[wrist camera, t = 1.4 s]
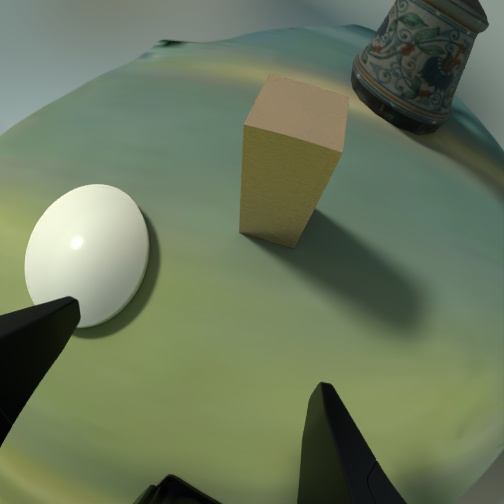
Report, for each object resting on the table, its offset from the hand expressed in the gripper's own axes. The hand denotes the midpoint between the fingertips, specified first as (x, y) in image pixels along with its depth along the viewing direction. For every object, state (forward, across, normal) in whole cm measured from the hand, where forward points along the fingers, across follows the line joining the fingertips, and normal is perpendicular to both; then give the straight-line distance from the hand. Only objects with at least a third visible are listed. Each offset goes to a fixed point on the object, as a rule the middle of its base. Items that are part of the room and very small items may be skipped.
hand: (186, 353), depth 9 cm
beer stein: (+39, -14, -20) cm, 46 cm away
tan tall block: (+19, -1, 0) cm, 19 cm away
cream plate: (+12, +15, +6) cm, 21 cm away
